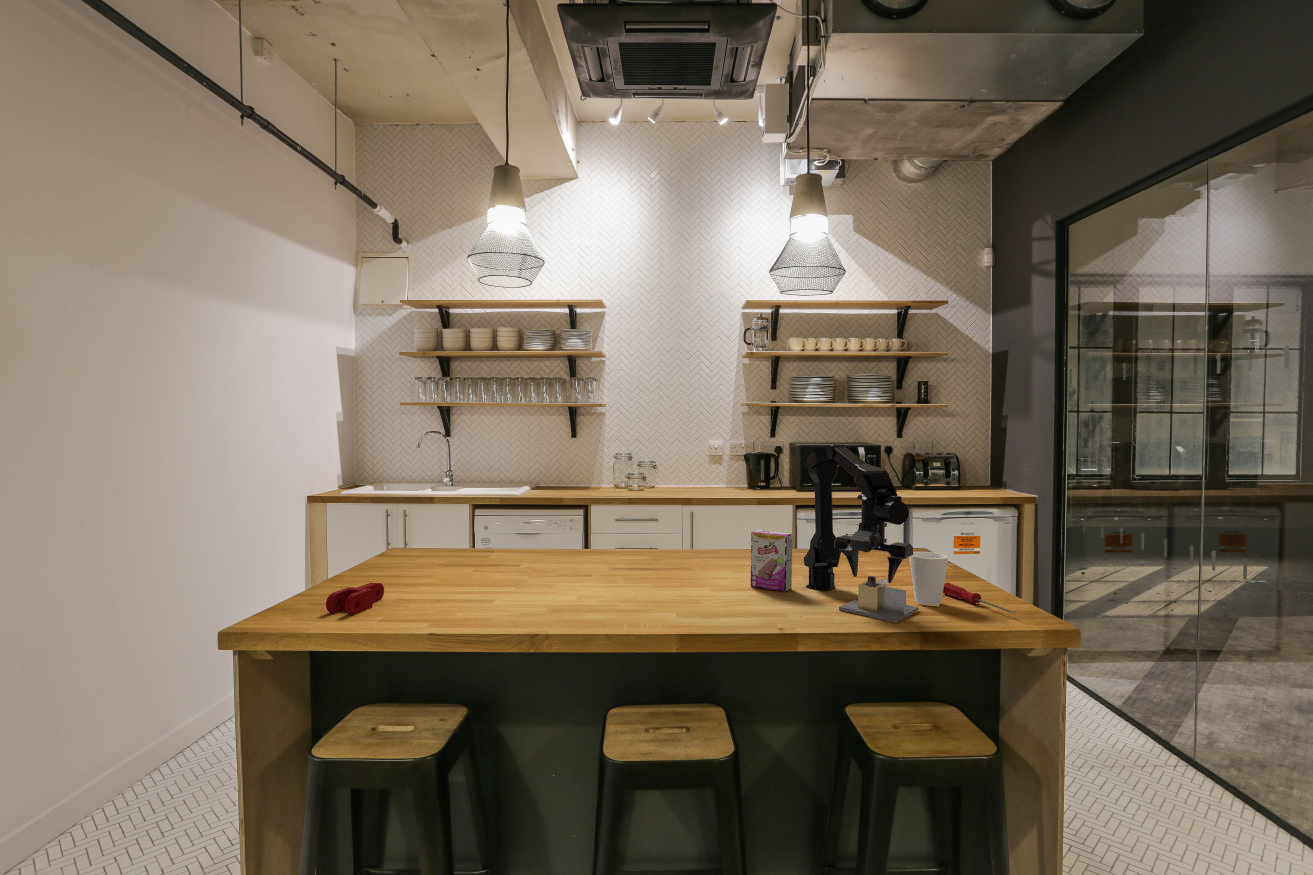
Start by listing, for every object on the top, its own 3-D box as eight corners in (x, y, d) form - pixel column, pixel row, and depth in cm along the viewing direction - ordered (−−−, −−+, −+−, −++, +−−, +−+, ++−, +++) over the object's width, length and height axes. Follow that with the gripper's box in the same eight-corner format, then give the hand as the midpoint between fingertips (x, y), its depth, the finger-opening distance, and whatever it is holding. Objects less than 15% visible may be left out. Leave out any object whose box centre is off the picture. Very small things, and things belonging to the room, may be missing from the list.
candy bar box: (749, 587, 188) (750, 531, 188) (756, 583, 192) (757, 529, 192) (786, 593, 182) (786, 535, 182) (792, 589, 186) (793, 532, 186)
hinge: (858, 607, 164) (858, 584, 164) (876, 599, 172) (877, 577, 172) (900, 616, 157) (901, 592, 157) (918, 607, 165) (918, 584, 165)
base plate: (839, 610, 165) (839, 606, 165) (863, 599, 175) (863, 596, 175) (896, 623, 155) (896, 618, 155) (918, 611, 165) (918, 607, 165)
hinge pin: (866, 608, 164) (866, 576, 164) (868, 606, 166) (869, 575, 165) (874, 609, 163) (874, 578, 163) (876, 607, 164) (877, 576, 164)
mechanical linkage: (350, 617, 157) (350, 596, 157) (325, 615, 159) (325, 594, 159) (391, 600, 173) (391, 581, 173) (368, 598, 174) (368, 579, 174)
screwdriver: (1009, 620, 158) (1009, 606, 158) (940, 594, 182) (940, 582, 182) (1021, 619, 159) (1021, 605, 159) (950, 593, 183) (951, 581, 183)
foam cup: (906, 605, 171) (907, 556, 170) (910, 597, 179) (911, 550, 179) (946, 610, 166) (946, 560, 166) (948, 601, 174) (949, 553, 174)
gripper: (824, 518, 164) (823, 578, 165) (896, 526, 152) (895, 592, 152) (844, 513, 173) (843, 571, 173) (914, 521, 160) (913, 583, 160)
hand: (872, 579), depth 164 cm, fingers open, 9 cm apart
